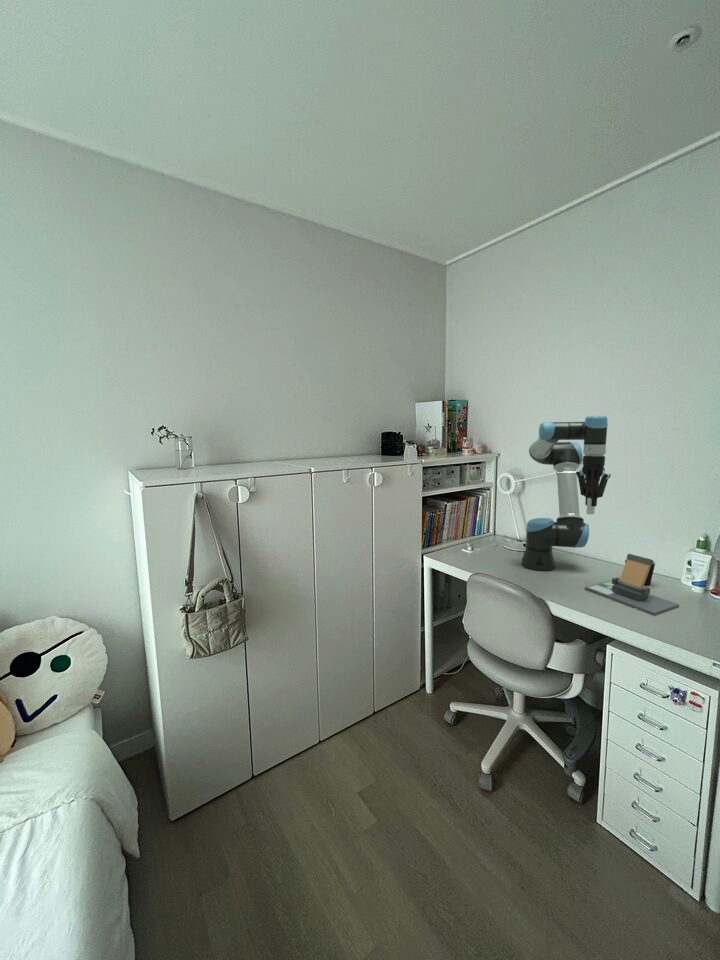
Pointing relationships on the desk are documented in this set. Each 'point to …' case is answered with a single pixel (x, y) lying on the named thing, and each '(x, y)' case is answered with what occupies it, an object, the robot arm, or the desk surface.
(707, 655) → the desk surface
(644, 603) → the switch unit
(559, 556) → the desk surface
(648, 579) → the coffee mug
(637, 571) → the paddle lever
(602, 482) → the robot arm
